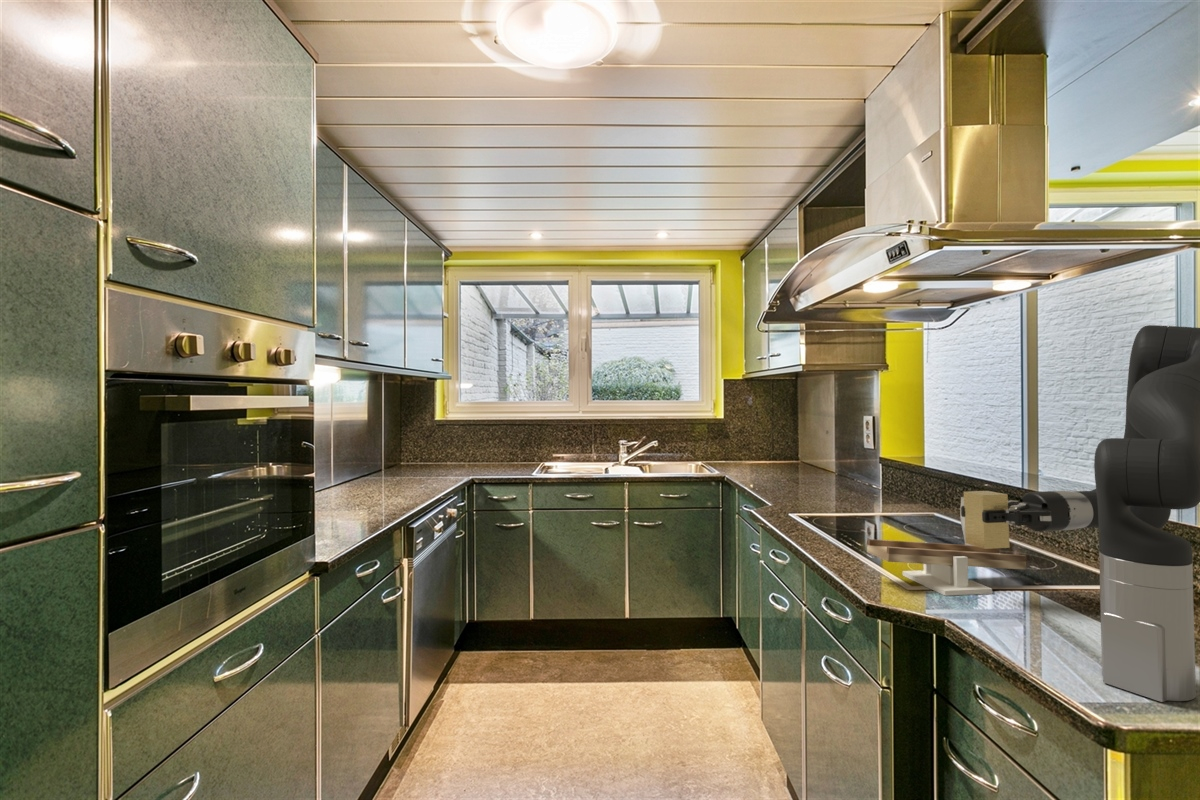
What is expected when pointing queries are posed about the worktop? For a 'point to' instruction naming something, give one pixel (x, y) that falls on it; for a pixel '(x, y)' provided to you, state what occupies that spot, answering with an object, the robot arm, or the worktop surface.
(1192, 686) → the robot arm
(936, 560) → the balance beam
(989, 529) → the block
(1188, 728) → the worktop surface
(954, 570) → the beam stand
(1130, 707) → the worktop surface
